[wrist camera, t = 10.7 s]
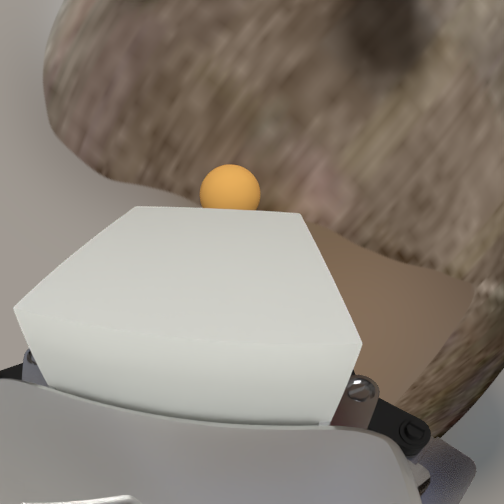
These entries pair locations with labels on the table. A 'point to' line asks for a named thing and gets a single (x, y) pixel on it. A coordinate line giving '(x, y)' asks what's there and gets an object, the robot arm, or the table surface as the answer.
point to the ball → (230, 189)
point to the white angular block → (197, 319)
